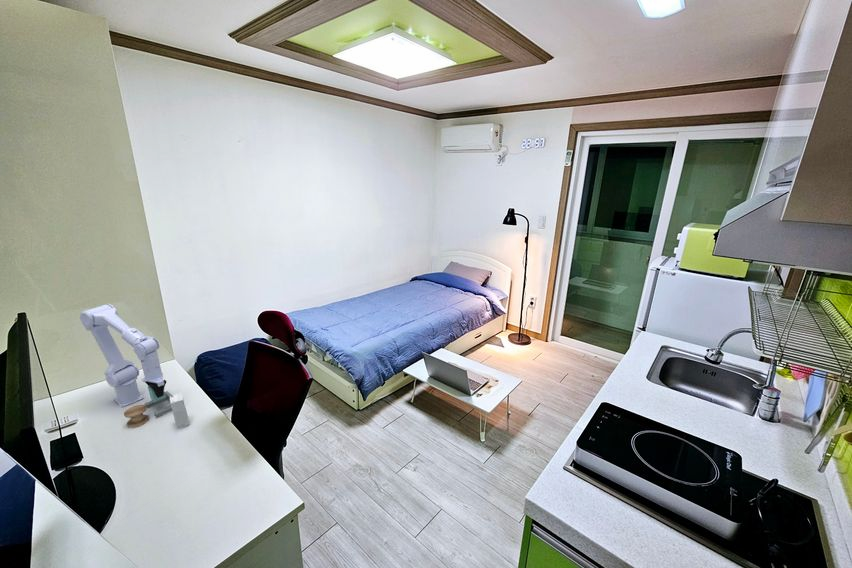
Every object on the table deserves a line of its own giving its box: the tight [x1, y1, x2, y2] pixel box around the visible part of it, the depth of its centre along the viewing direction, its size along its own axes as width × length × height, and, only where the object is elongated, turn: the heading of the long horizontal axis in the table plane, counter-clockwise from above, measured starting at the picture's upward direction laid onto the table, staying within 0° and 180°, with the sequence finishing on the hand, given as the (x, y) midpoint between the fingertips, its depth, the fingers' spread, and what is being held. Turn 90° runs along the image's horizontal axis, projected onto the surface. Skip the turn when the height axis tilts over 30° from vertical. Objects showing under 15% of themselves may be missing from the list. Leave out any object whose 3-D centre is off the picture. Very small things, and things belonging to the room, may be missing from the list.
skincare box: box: [169, 392, 190, 429], centre depth 138 cm, size 6×4×12 cm
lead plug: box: [147, 386, 166, 402], centre depth 146 cm, size 4×4×7 cm
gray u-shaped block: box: [144, 390, 174, 418], centre depth 148 cm, size 12×9×3 cm
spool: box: [123, 404, 150, 428], centre depth 139 cm, size 7×7×6 cm
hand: (158, 394), depth 146 cm, fingers closed on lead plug, 4 cm apart
